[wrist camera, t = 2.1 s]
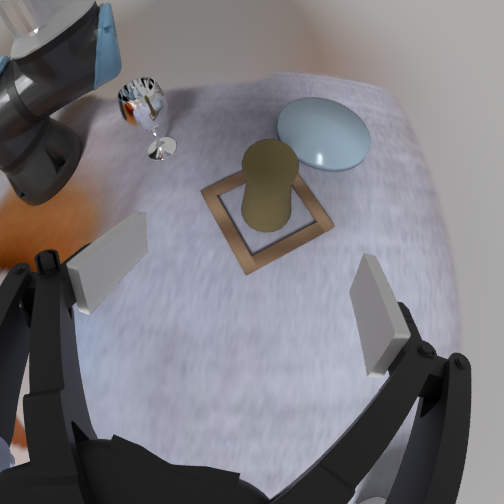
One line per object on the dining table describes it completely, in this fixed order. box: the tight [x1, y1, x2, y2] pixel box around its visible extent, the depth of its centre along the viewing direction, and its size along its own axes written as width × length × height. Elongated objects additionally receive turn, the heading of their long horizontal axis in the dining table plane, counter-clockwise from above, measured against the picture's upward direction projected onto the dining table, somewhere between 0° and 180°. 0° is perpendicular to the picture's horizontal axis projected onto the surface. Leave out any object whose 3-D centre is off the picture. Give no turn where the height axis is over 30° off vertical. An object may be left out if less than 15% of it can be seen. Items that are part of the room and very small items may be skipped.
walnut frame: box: [201, 171, 334, 275], centre depth 33 cm, size 12×12×1 cm
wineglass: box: [118, 77, 177, 161], centre depth 30 cm, size 6×6×12 cm
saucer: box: [277, 98, 371, 171], centre depth 36 cm, size 14×14×1 cm
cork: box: [241, 139, 299, 232], centre depth 28 cm, size 6×6×11 cm
